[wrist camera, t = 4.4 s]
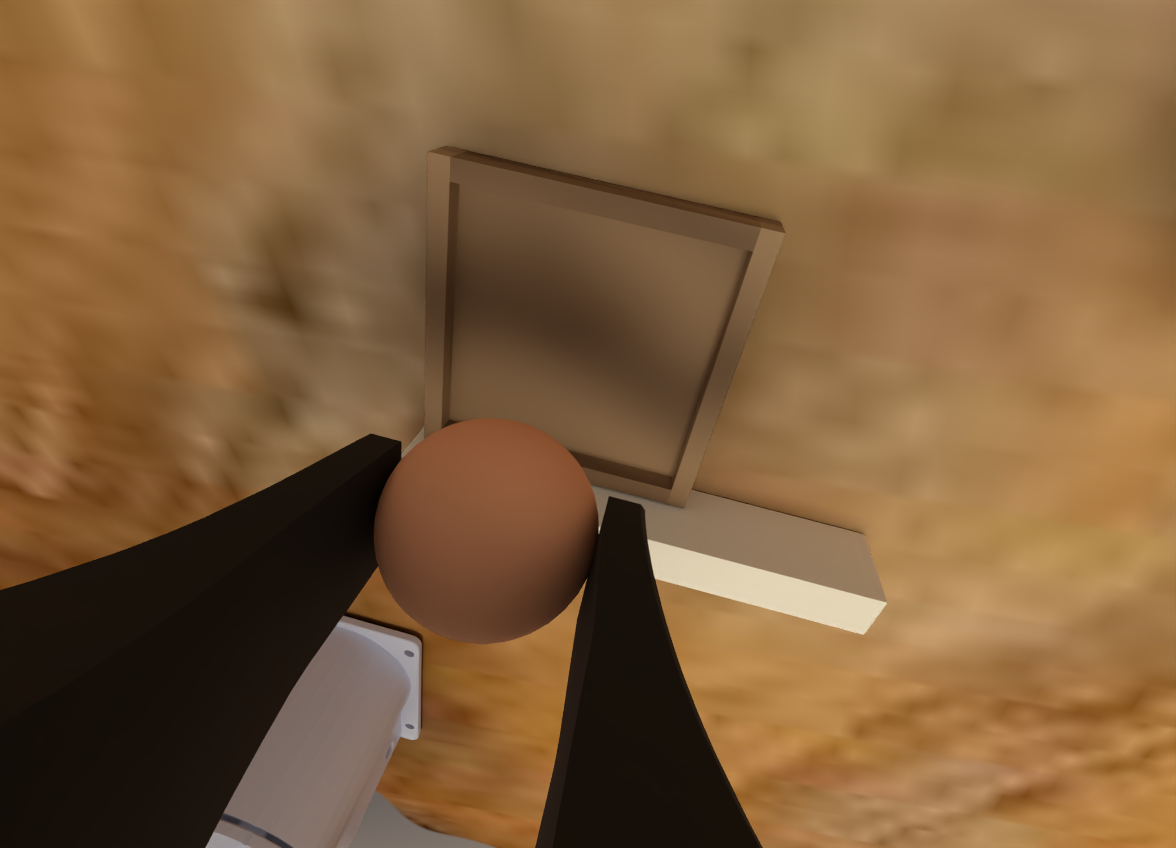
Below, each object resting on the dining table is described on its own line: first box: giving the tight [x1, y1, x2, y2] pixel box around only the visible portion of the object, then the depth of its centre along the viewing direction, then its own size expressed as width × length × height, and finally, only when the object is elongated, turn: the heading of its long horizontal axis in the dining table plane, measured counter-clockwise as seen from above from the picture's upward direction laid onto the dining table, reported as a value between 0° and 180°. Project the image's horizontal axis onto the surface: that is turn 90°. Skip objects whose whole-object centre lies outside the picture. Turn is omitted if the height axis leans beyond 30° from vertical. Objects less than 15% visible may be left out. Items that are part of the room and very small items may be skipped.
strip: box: [401, 427, 887, 635], centre depth 19 cm, size 2×16×3 cm, turn 80°
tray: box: [424, 146, 786, 508], centre depth 17 cm, size 9×9×1 cm
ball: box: [374, 418, 599, 644], centre depth 10 cm, size 4×4×4 cm
